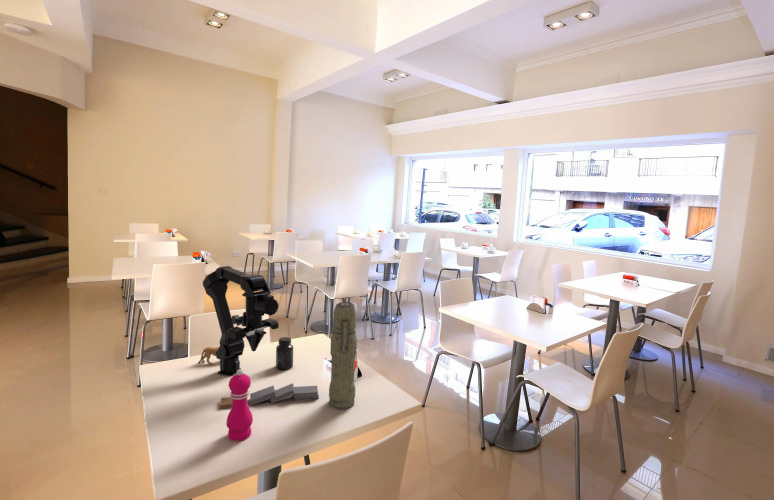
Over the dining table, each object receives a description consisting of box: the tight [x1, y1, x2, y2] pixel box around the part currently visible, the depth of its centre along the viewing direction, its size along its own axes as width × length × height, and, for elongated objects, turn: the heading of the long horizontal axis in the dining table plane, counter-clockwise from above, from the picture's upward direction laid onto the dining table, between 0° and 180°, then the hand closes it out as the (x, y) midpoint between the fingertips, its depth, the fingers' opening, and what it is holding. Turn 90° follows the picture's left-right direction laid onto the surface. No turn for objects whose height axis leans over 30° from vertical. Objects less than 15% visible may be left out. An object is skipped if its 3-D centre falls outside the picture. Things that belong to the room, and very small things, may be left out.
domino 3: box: [269, 383, 295, 405], centre depth 141 cm, size 2×5×8 cm
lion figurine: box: [196, 346, 220, 365], centre depth 169 cm, size 15×5×9 cm, turn 121°
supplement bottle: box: [275, 336, 294, 371], centre depth 167 cm, size 7×7×12 cm
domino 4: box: [293, 385, 319, 399], centre depth 144 cm, size 2×5×8 cm
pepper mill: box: [225, 368, 254, 442], centre depth 118 cm, size 7×7×20 cm
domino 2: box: [249, 385, 276, 406], centre depth 140 cm, size 2×5×8 cm
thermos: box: [328, 301, 358, 410], centre depth 139 cm, size 9×12×35 cm
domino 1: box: [219, 396, 232, 410], centre depth 137 cm, size 2×5×8 cm
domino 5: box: [294, 394, 320, 402], centre depth 144 cm, size 2×5×8 cm
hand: (253, 350), depth 151 cm, fingers closed
